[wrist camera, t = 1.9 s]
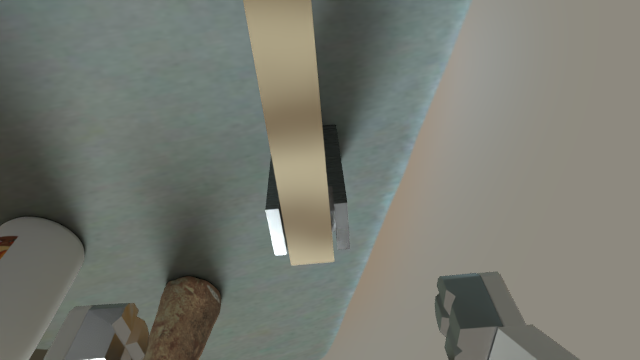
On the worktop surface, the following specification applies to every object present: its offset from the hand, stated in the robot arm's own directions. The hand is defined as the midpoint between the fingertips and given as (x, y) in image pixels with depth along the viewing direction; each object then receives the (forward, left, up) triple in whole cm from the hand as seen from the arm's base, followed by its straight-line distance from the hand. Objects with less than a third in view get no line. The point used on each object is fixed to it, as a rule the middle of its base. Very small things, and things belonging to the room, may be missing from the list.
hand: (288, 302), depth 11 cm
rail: (0, 0, -14) cm, 14 cm away
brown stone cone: (+26, -14, -22) cm, 37 cm away
